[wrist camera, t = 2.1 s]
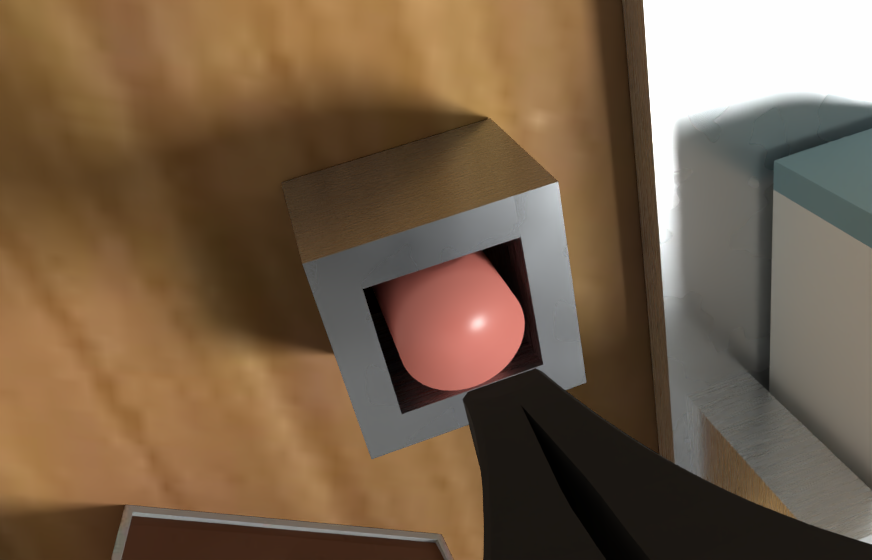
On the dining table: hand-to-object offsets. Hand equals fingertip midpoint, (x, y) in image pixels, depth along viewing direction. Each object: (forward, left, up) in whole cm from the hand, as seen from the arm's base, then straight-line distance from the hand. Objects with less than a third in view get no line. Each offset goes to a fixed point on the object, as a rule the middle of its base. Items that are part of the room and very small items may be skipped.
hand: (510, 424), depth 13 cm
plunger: (0, 0, -7) cm, 7 cm away
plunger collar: (0, 0, -7) cm, 7 cm away
